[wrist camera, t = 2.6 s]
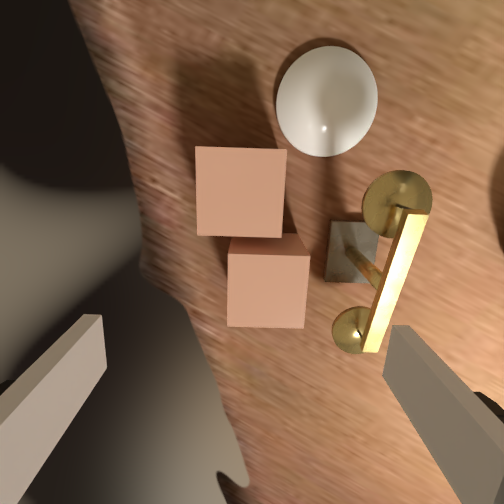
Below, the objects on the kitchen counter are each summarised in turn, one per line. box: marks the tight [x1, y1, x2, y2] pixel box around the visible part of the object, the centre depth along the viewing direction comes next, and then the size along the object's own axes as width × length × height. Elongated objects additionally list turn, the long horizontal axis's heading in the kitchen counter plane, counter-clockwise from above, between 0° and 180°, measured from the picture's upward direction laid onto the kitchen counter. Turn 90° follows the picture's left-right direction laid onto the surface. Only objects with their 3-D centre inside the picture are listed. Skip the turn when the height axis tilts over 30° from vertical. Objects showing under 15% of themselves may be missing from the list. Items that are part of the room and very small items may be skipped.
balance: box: [323, 170, 432, 354], centre depth 33 cm, size 21×6×15 cm, turn 178°
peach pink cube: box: [227, 233, 310, 329], centre depth 37 cm, size 8×8×9 cm
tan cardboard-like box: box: [195, 146, 287, 238], centre depth 33 cm, size 8×8×9 cm
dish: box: [276, 46, 378, 157], centre depth 35 cm, size 11×11×1 cm
